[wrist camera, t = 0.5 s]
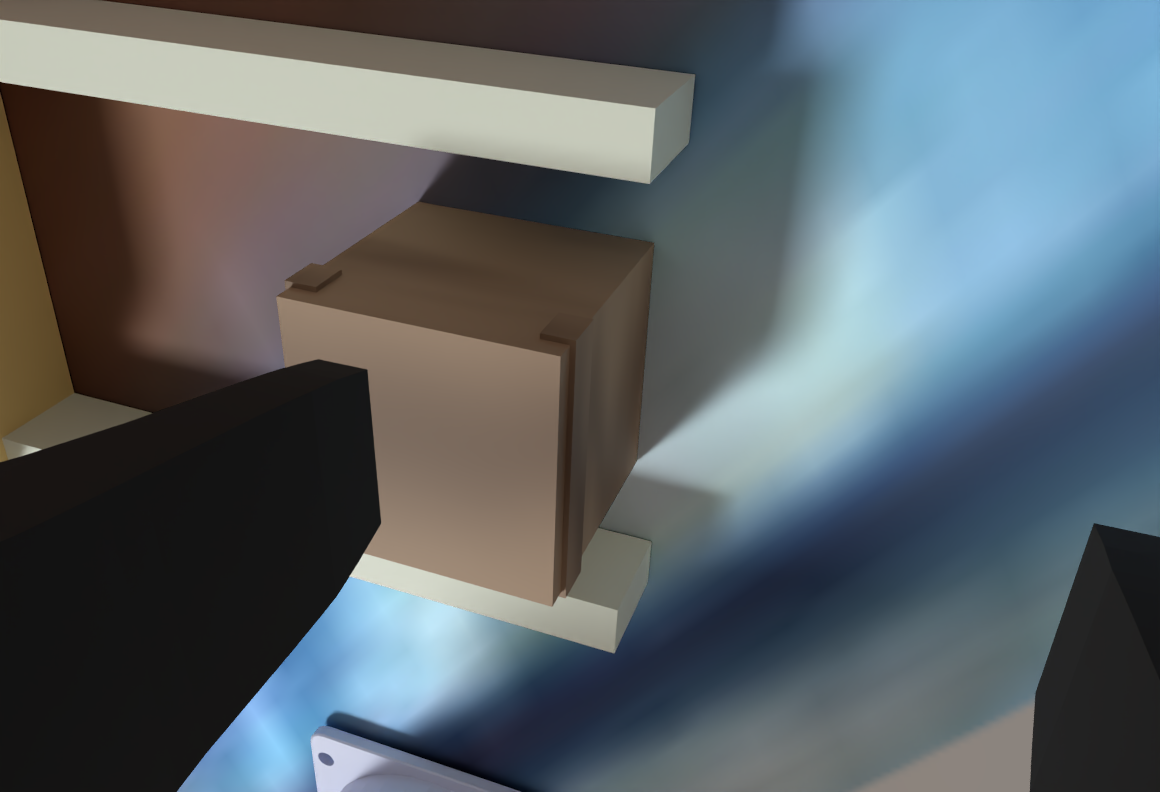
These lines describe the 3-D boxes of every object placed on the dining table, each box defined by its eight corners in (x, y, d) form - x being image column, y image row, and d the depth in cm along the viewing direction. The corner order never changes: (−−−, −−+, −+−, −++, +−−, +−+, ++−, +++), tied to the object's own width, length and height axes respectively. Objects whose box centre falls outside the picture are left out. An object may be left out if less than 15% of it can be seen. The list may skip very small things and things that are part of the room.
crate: (641, 463, 22) (557, 612, 18) (425, 413, 24) (301, 540, 20) (660, 237, 20) (566, 351, 16) (415, 194, 21) (270, 289, 17)
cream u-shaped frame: (647, 582, 24) (547, 795, 19) (37, 418, 28) (-175, 551, 23) (695, 74, 18) (567, 183, 13) (-84, -23, 23) (-399, 27, 18)
